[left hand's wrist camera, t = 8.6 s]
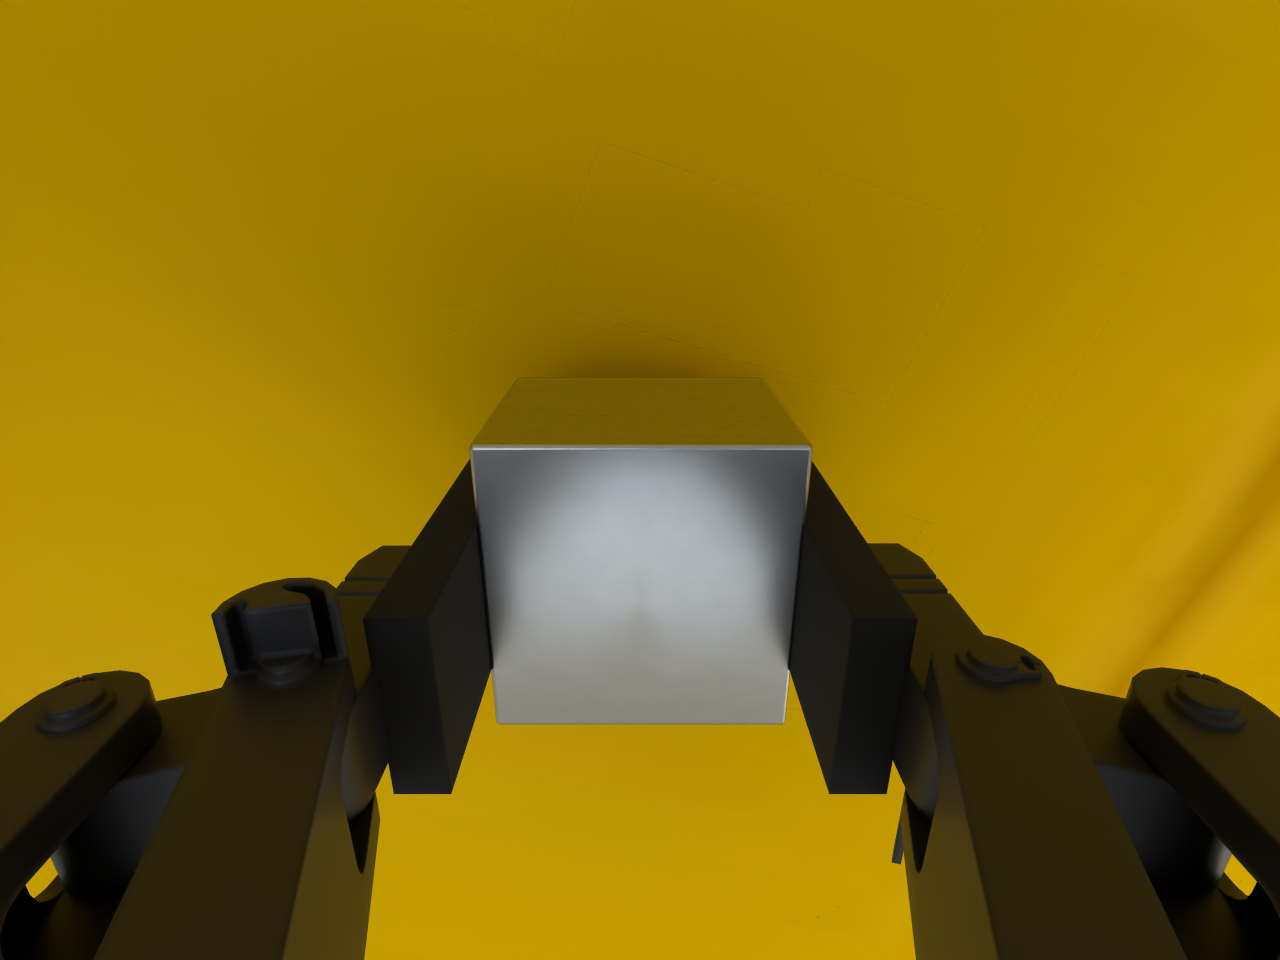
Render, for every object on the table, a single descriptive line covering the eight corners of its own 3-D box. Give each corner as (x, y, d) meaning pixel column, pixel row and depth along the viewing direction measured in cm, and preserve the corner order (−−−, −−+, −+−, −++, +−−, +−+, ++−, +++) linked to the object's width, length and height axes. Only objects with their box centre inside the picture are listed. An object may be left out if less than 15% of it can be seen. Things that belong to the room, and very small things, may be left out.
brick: (531, 596, 16) (495, 726, 12) (516, 376, 14) (467, 445, 10) (749, 595, 16) (785, 726, 12) (764, 376, 14) (814, 444, 10)
